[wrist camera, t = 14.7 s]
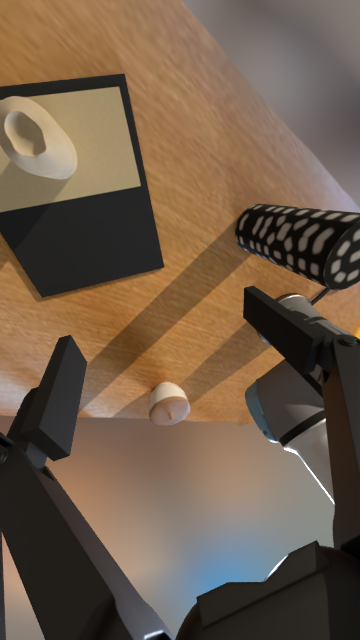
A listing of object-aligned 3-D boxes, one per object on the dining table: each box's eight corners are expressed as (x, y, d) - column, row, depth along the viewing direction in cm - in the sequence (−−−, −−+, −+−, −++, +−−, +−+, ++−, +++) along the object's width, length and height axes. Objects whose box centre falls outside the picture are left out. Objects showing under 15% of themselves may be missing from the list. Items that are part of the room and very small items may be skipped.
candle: (86, 153, 26) (73, 136, 18) (64, 189, 27) (44, 189, 19) (40, 110, 23) (1, 66, 15) (19, 153, 24) (-28, 135, 16)
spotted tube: (240, 257, 41) (321, 301, 25) (230, 216, 36) (325, 238, 20) (275, 239, 41) (380, 270, 25) (271, 195, 36) (399, 199, 20)
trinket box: (137, 390, 54) (141, 423, 46) (170, 369, 53) (179, 399, 46) (159, 405, 60) (165, 436, 53) (188, 387, 59) (199, 416, 52)
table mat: (124, 75, 24) (124, 73, 23) (163, 266, 38) (164, 267, 37) (-84, 97, 21) (-88, 95, 20) (42, 296, 34) (42, 297, 34)
